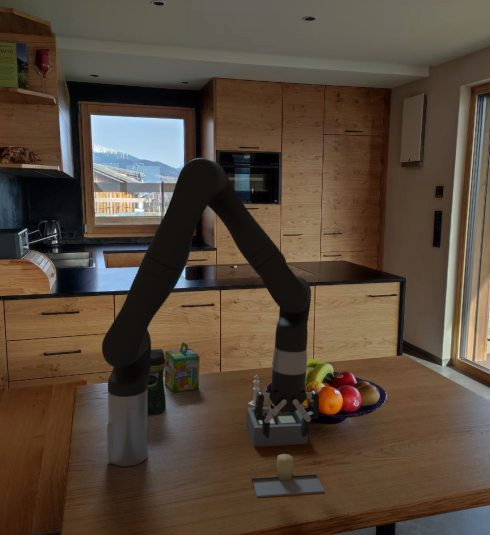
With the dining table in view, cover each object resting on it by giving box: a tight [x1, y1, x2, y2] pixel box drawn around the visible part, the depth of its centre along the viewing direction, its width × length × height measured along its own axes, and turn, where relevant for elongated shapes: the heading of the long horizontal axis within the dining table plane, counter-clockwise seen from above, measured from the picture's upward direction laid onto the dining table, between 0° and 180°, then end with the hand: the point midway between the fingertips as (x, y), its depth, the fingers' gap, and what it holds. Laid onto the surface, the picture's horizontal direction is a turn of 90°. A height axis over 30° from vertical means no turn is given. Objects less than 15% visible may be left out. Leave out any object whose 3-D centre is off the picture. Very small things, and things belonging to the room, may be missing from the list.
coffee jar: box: [147, 348, 167, 416], centre depth 145 cm, size 10×8×19 cm
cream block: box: [257, 418, 275, 425], centre depth 131 cm, size 4×4×4 cm
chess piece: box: [248, 374, 261, 407], centre depth 151 cm, size 5×5×10 cm
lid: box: [251, 453, 326, 498], centre depth 113 cm, size 15×13×6 cm
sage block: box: [278, 416, 296, 425], centre depth 132 cm, size 4×4×4 cm
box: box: [246, 406, 309, 447], centre depth 132 cm, size 14×12×6 cm
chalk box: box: [164, 341, 200, 394], centre depth 165 cm, size 9×9×15 cm
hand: (285, 435), depth 112 cm, fingers open, 8 cm apart
